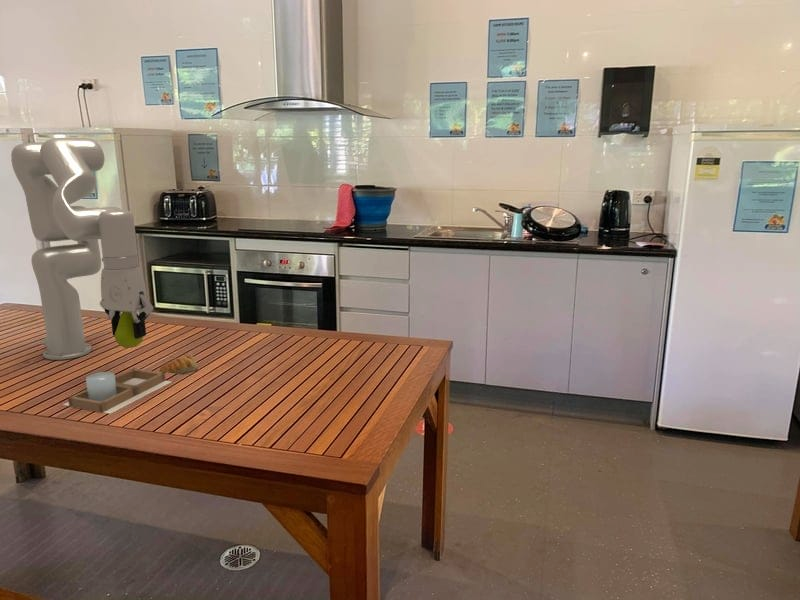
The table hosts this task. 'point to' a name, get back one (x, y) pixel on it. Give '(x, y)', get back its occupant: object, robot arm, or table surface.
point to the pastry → (180, 365)
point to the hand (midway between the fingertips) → (129, 335)
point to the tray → (122, 391)
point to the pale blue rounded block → (101, 386)
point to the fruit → (126, 331)
